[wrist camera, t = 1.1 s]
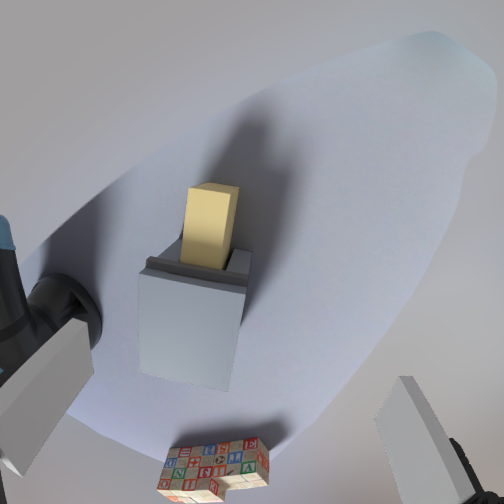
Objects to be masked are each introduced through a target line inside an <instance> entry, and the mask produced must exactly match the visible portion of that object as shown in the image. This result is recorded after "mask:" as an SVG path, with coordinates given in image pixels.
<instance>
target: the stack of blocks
mask: <svg viewBox="0 0 504 504" xmlns="http://www.w3.org/2000/svg"><path fill="white" fill-rule="evenodd" d="M268 484H269V451H268V450H267V448H266V447H265V446H264V444H263V443H262V441H261V440H260V439H259V438H258V437H256V438H251V439H246V440H239V441H233V442H226V443H219V444H213V445H205V446H197V447H185V448H172V449H169V452H168V455H167V459H166V462H165V465H164V467H163V470H162V473H161V476H160V481H159V484H158V487H157V490H158V491H159V492H160V493H162V494H163V495H164V496H166V497H167V498H168V499H170V500H171V501H173V502H185V503H210V502H224V500H225V494H226V490H234V489H245V488H253V487H260V486H266V485H268Z"/></svg>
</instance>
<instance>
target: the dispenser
mask: <svg viewBox="0 0 504 504" xmlns="http://www.w3.org/2000/svg"><path fill="white" fill-rule="evenodd" d="M181 248H182V239H178V240H176V241H175V242H174V243H173V244H172V245H171V246H170V247H168V248H167V249H166V250H165V251H164V252H163V253H161V254H160V255H159V256H158V257H152V256H150V257H149V258H148V259H146V267H145V268H144V269H143V270H142V271H141V272H140V273H139V284H138V337H139V363H140V372H142V373H146V374H149V375H153V376H157V377H160V378H164V379H168V380H172V381H177V382H181V383H185V384H190V385H194V386H199V387H204V388H209V389H214V390H219V391H224V392H228V389H229V384H230V378H231V373H232V367H233V362H234V356H235V351H236V345H237V340H238V334H239V329H240V323H241V318H242V312H243V307H244V301H245V296H246V290H247V284H248V278H249V270H250V264H251V257H252V252H250V251H244V250H239V249H234V251H233V253H232V256H231V259H230V261H229V264H228V267H227V269H226V271H225V270H220V269H214V268H209V267H204V266H198V265H193V264H188V263H182V262H180V258H181ZM180 275H184V276H180ZM185 276H189V277H185ZM190 277H194V278H190ZM195 278H200V279H205V280H200V279H195ZM206 280H210V281H206ZM211 281H215V282H211ZM216 282H221V283H216Z"/></svg>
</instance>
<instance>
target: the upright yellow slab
mask: <svg viewBox="0 0 504 504" xmlns="http://www.w3.org/2000/svg"><path fill="white" fill-rule="evenodd" d="M239 188H240V187H235V186H229V185H223V184H216V183H210V182H208V183H204V184H201V185H197V186H193V187H190V188H189V191H188V198H187V206H186V214H185V222H184V230H183V239H182V248H181V258H180V262H182V263H188V264H193V265H198V266H204V267H209V268H214V269H220V270H225V271H226V269H227V262H228V256H229V249H230V243H231V237H232V231H233V224H234V218H235V212H236V206H237V200H238V194H239ZM180 276H184V275H180ZM185 277H189V276H185ZM190 278H194V277H190ZM195 279H200V278H195ZM200 280H205V279H200ZM206 281H210V280H206ZM211 282H215V281H211ZM216 283H221V282H216Z"/></svg>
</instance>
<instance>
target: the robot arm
mask: <svg viewBox="0 0 504 504" xmlns="http://www.w3.org/2000/svg"><path fill="white" fill-rule="evenodd" d="M15 250H16V248H15V246H14V244H13V240H12V235H11V230H10V225H9V222H8V220H7V219H6V218H5V217H4V216H2V215H0V458H1V459H2V461H3V462H4V463H5V465H6V466H7V467H8V468H10V469H11V470H12V471H14V472H15V473H17V474H18V475H20V476H21V477H23V476H24V475H25V473H26V471H27V470H28V468H29V467H30V465H31V463H32V462H33V460H34V459H35V457H36V456H37V454H38V452H39V451H40V449H41V448H42V446H43V445H44V443H45V442H46V440H47V439H48V437H49V436H50V434H51V433H52V431H53V430H54V428H55V427H56V425H57V424H58V422H59V421H60V420H61V418H62V417H63V415H64V414H65V412H66V411H67V409H68V408H69V407H70V405H71V404H72V402H73V401H74V400H75V398H76V397H77V395H78V394H79V392H80V391H81V390H82V388H83V387H84V386H85V384H86V383H87V381H88V380H89V379H90V377H91V376H92V375H93V373H94V369H93V363H92V357H91V350H92V349H93V348H94V347H95V346H96V344H97V343H98V342H99V340H100V337H101V332H102V325H101V319H100V315H99V312H98V310H97V307H96V305H95V303H94V302H93V300H92V298H91V297H90V295H89V294H88V293H87V291H86V290H85V289H84V288H83V287H82V286H81V285H80V284H79V283H78V282H76V281H75V280H73V279H72V278H70V277H68V276H66V275H63V274H57V273H55V274H50V275H48V276H46V277H44V278H43V279H41V280H39V281H38V282H37V283H36V284H35V286H34V287H33V289H32V292H31V293H30V295H29V296H28V297H27V299H26V296H25V292H24V289H23V285H22V281H21V277H20V273H19V268H18V264H17V259H16V254H15ZM374 420H375V423H376V426H377V429H378V431H379V434H380V437H381V440H382V442H383V446H384V448H385V451H386V454H387V457H388V460H389V463H390V466H391V469H392V472H393V475H394V478H395V481H396V484H397V487H398V491H399V494H400V497H401V500H402V504H504V497H499V496H498V495H497V494H496V493H494V492H490V491H487V492H485V491H484V490H483V489H482V486H481V484H480V482H479V480H478V478H477V476H476V474H475V472H474V470H473V468H472V466H471V464H469V461H468V459H467V457H465V453H464V451H463V449H462V448H461V446H460V445H459V444H458V443H457V442H456V441H455V440H454V439H453V438H448V437H447V435H446V433H445V431H444V429H443V427H442V426H441V424H440V422H439V420H438V419H437V417H436V415H435V413H434V411H433V410H432V408H431V406H430V404H429V403H428V401H427V399H426V398H425V396H424V394H423V392H422V391H421V390H420V387H419V386H418V384H417V383H416V381H415V379H414V378H413V376H399V377H398V379H397V380H396V382H395V384H394V386H393V388H392V390H391V391H390V393H389V395H388V397H387V399H386V400H385V402H384V403H383V405H382V407H381V408H380V410H379V412H378V413H377V415H376V417H375V418H374ZM0 504H7V501H6V497H5V492H4V488H3V482H2V477H1V471H0Z"/></svg>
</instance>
